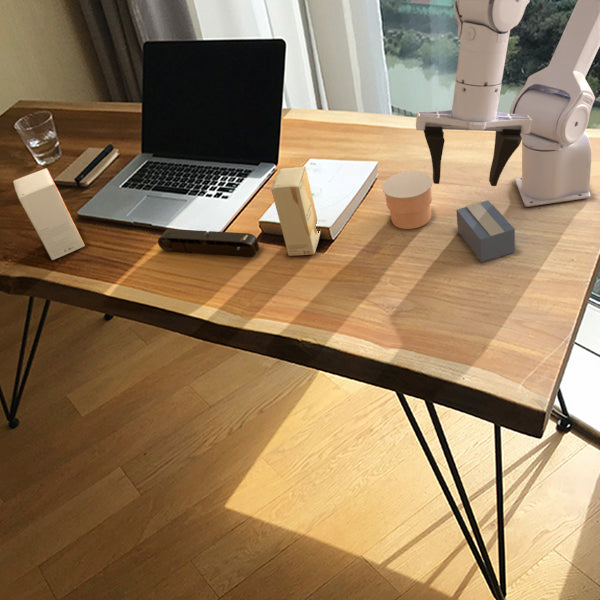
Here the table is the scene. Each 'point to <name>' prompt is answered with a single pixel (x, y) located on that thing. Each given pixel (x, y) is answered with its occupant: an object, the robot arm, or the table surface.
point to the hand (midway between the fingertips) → (464, 182)
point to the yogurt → (409, 198)
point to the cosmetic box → (296, 210)
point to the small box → (48, 213)
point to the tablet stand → (209, 242)
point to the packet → (486, 231)
